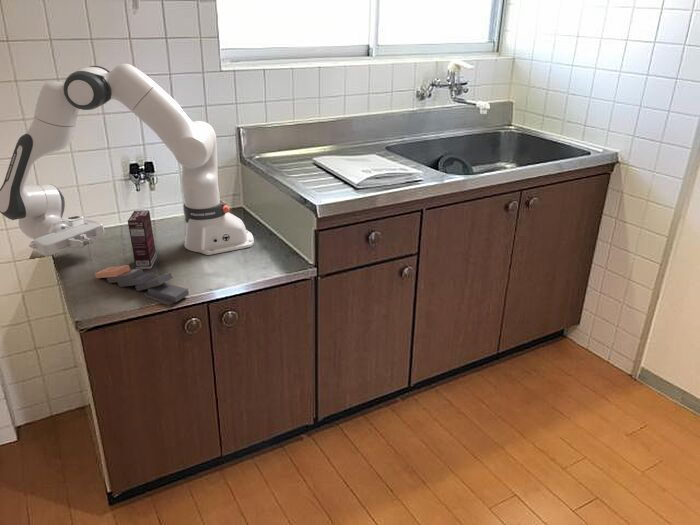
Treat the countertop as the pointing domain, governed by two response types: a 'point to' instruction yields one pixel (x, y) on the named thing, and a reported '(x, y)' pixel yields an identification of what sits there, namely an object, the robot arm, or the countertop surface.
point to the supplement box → (142, 239)
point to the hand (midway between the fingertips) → (86, 243)
